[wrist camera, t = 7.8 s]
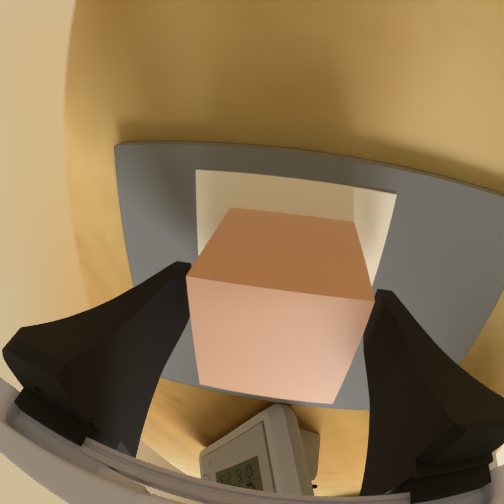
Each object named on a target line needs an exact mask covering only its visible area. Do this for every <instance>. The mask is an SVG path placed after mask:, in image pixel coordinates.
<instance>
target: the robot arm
mask: <svg viewBox="0 0 504 504" xmlns="http://www.w3.org/2000/svg"><path fill="white" fill-rule="evenodd" d="M191 267H192V266H191V263H187V262H181V261H176V262H174V263H172V264H171V265H169V266H167V267H166V268H164V269H163V270H161V271H159V272H158V273H156V274H155V275H153V276H152V277H150V278H148V279H147V280H145V281H144V282H142V283H141V284H139V285H137V286H135V287H134V288H132V289H130V290H128V291H127V292H125V293H123V294H121V295H120V296H118V297H116V298H114V299H112V300H110V301H108V302H106V303H104V304H101V305H99V306H97V307H95V308H92V309H90V310H87V311H84V312H81V313H79V314H76V315H74V316H70V317H67V318H64V319H60V320H57V321H53V322H48V323H44V324H39V325H33V326H27V327H22V328H20V329H19V330H18V332H17V333H16V334H15V335H14V336H13V337H12V338H11V340H10V341H9V342H8V343H7V344H6V346H5V347H4V348H3V349H2V352H3V357H4V360H5V362H6V363H7V365H8V367H9V368H10V369H11V371H12V372H13V374H14V375H15V376H16V378H17V379H18V381H19V382H20V383H21V385H22V386H23V387H24V388H23V390H22V391H21V392H19V391H17V390H16V389H15V388H14V387H13V386H11V385H10V384H9V383H7V382H5V381H4V380H3V379H2V378H0V452H1V453H2V454H3V455H5V456H6V457H7V458H8V459H9V460H10V461H12V462H13V463H14V464H15V465H16V466H17V467H19V468H20V469H21V470H22V471H24V472H25V473H26V474H28V475H29V476H30V477H31V478H33V479H34V480H35V481H37V482H38V483H40V484H41V485H42V486H44V487H45V488H47V489H48V490H49V491H51V492H52V493H54V494H55V495H57V496H58V497H60V498H62V499H63V500H65V501H66V502H68V503H69V504H185V503H181V502H178V501H175V500H171V499H167V498H165V497H161V496H158V495H155V494H151V493H149V492H148V491H147V490H146V488H145V486H143V485H141V484H139V483H142V484H144V485H147V486H150V487H153V488H155V489H158V490H161V491H164V492H167V493H170V494H173V495H177V496H180V497H184V498H187V499H190V500H194V501H198V502H202V503H206V504H504V465H502V466H499V467H498V464H497V459H496V454H495V450H496V449H497V448H499V447H500V446H501V445H502V444H503V443H504V397H502V396H500V395H498V394H497V393H495V392H493V391H492V390H490V389H489V388H487V387H486V386H484V385H483V384H481V383H480V382H479V381H477V380H476V379H475V378H473V377H472V376H471V375H469V374H468V373H467V372H466V371H465V370H463V369H462V368H461V367H460V366H459V365H458V364H456V363H455V362H454V361H453V360H452V359H451V358H450V357H449V356H448V355H447V354H446V353H445V352H444V351H443V350H442V349H441V348H440V347H439V346H438V345H437V344H436V343H435V342H434V341H433V339H432V338H431V337H430V336H429V335H428V334H427V333H426V332H425V330H424V329H423V328H422V327H421V326H420V324H419V323H418V322H417V321H416V319H415V318H414V317H413V316H412V314H411V313H410V312H409V311H408V309H407V308H406V307H405V306H404V304H403V303H402V302H401V301H400V299H399V298H398V297H397V296H396V295H395V294H394V292H393V291H392V290H384V289H377V291H376V294H375V297H374V299H375V303H374V306H373V309H372V311H371V314H370V317H369V320H368V322H367V325H366V328H365V330H364V333H363V351H364V359H365V366H366V374H367V382H368V390H369V401H370V421H369V438H368V450H367V458H366V465H365V472H364V478H363V483H362V488H361V493H360V496H355V497H328V496H306V495H293V494H282V493H274V492H266V491H259V490H252V489H246V488H241V487H235V486H230V485H225V484H220V483H216V482H212V481H207V480H203V479H199V478H196V477H192V476H188V475H185V474H180V473H178V472H174V471H171V470H168V469H165V468H162V467H158V466H156V465H153V464H150V463H147V462H144V461H142V460H139V459H136V454H137V450H138V445H139V441H140V437H141V433H142V430H143V426H144V423H145V419H146V416H147V412H148V409H149V406H150V403H151V401H152V398H153V395H154V392H155V389H156V386H157V384H158V381H159V378H160V376H161V373H162V371H163V369H164V367H165V365H166V363H167V361H168V359H169V357H170V356H171V354H172V352H173V350H174V348H175V346H176V344H177V342H178V341H179V339H180V337H181V335H182V333H183V331H184V329H185V327H186V325H187V323H188V320H189V318H190V310H189V301H188V292H187V282H186V275H187V274H188V272H189V271H190V269H191ZM133 480H134V481H133ZM135 481H136V482H135ZM137 482H139V483H137Z"/></svg>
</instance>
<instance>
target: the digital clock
mask: <svg viewBox="0 0 504 504" xmlns="http://www.w3.org/2000/svg"><path fill="white" fill-rule="evenodd" d="M319 447H320V435H319V434H316V433H313V432H310V431H307V430H304V429H301V428H299V425H298V421H297V418H296V415H295V413H294V412H293V410H292V409H291V408H290V407H289V406H288V405H285V404H281V403H276V404H273V405H272V406H270V407H268V408H267V409H265V410H263V411H262V412H260V413H258V414H257V415H255V416H254V417H252V418H251V419H249V420H248V421H246V422H245V423H243V424H242V425H241V426H239V427H238V428H236V429H235V430H233V431H232V432H230V433H229V434H227V435H225V436H224V437H222V438H221V439H219V440H218V441H216V442H214V443H213V444H211V445H210V446H208V447H206V448H205V449H204V450H202V451H201V452H200V457H199V460H200V472H201V479H203V480H207V481H212V482H216V483H220V484H225V485H230V486H235V487H241V488H246V489H252V490H259V491H266V492H274V493H282V494H293V495H306V496H314V492H313V488H312V483H311V481H312V480H314V479H315V477H316V475H317V470H318V460H319ZM204 504H206V503H204Z"/></svg>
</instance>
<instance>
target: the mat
mask: <svg viewBox="0 0 504 504" xmlns="http://www.w3.org/2000/svg"><path fill="white" fill-rule="evenodd" d="M114 153H115V165H116V176H117V186H118V195H119V203H120V210H121V218H122V225H123V231H124V237H125V244H126V249H127V255H128V261H129V266H130V271H131V276H132V281H133V286H134V287H135V286H137V285H139V284H141V283H142V282H144V281H145V280H147V279H148V278H150V277H152V276H153V275H155V274H156V273H158V272H159V271H161V270H163V269H164V268H166V267H167V266H169V265H171V264H172V263H174V262H176V261H181V262H187V263H191V266H193V264H194V263H195V261H196V260H197V258H198V256H199V255H200V253H201V252H202V250H203V249H204V247H205V246H206V244H207V243H208V241H209V239H210V238H211V236H212V235H213V233H214V232H215V230H216V229H217V227H218V226H219V224H220V223H221V221H222V220H223V218H224V217H225V215H226V214H227V212H228V211H229V209H230V208H231V207H233V208H242V209H252V210H261V211H270V212H279V213H288V214H296V215H304V216H312V217H320V218H327V219H335V220H342V221H349V222H354V223H355V227H356V230H357V233H358V237H359V240H360V244H361V248H362V251H363V255H364V259H365V262H366V266H367V270H368V274H369V278H370V282H371V286H372V290H373V295H374V297H375V294H376V291H377V289H384V290H392V291H393V292H394V294H395V295H396V296H397V297H398V298H399V299H400V301H401V302H402V303H403V304H404V306H405V307H406V308H407V309H408V311H409V312H410V313H411V314H412V316H413V317H414V318H415V319H416V321H417V322H418V323H419V324H420V326H421V327H422V328H423V329H424V330H425V332H426V333H427V334H428V335H429V336H430V337H431V338H432V339H433V341H434V342H435V343H436V344H437V345H438V346H439V347H440V348H441V349H442V350H443V351H444V352H445V353H446V354H447V355H448V356H449V357H450V358H451V359H452V360H453V361H454V362H455V363H456V364H458V365H459V364H460V362H461V361H462V360H463V358H464V357H465V355H466V354H467V352H468V351H469V349H470V348H471V346H472V344H473V343H474V341H475V340H476V338H477V337H478V335H479V333H480V332H481V330H482V328H483V327H484V325H485V323H486V321H487V320H488V318H489V316H490V314H491V313H492V311H493V309H494V307H495V305H496V303H497V301H498V299H499V298H500V296H501V294H502V292H503V290H504V194H502V193H499V192H495V191H492V190H489V189H486V188H483V187H480V186H476V185H473V184H470V183H466V182H463V181H459V180H455V179H452V178H448V177H444V176H440V175H436V174H432V173H428V172H424V171H420V170H416V169H411V168H407V167H402V166H397V165H393V164H388V163H383V162H377V161H372V160H367V159H361V158H355V157H349V156H343V155H337V154H330V153H323V152H316V151H308V150H300V149H291V148H282V147H272V146H261V145H248V144H233V143H215V142H184V141H142V142H122V143H119V144H117V145H114ZM160 378H164V379H167V380H171V381H175V382H178V383H182V384H186V385H190V386H194V387H199V388H203V389H207V390H212V391H216V392H221V393H226V394H231V395H236V396H242V397H247V398H253V399H259V400H265V401H272V402H279V403H286V404H294V405H303V406H313V407H323V408H336V409H352V410H370V401H369V390H368V382H367V374H366V366H365V359H364V351H363V335H362V338H361V341H360V343H359V346H358V348H357V351H356V353H355V355H354V358H353V360H352V363H351V365H350V367H349V369H348V372H347V374H346V376H345V379H344V381H343V383H342V385H341V387H340V390H339V392H338V394H337V396H336V398H335V400H334V402H333V404H325V403H314V402H304V401H295V400H287V399H279V398H272V397H265V396H258V395H252V394H246V393H241V392H235V391H230V390H225V389H220V388H215V387H210V386H206V385H201V384H200V383H199V376H198V370H197V363H196V356H195V349H194V342H193V334H192V326H191V318H189V320H188V323H187V325H186V327H185V329H184V331H183V333H182V335H181V337H180V339H179V341H178V342H177V344H176V346H175V348H174V350H173V352H172V354H171V356H170V357H169V359H168V361H167V363H166V365H165V367H164V369H163V371H162V373H161V376H160Z"/></svg>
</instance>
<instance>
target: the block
mask: <svg viewBox="0 0 504 504" xmlns="http://www.w3.org/2000/svg"><path fill="white" fill-rule="evenodd" d="M186 282H187V292H188V301H189V310H190V318H191V326H192V334H193V342H194V349H195V356H196V363H197V370H198V376H199V383H200V384H201V385H206V386H210V387H215V388H220V389H225V390H230V391H235V392H241V393H246V394H252V395H258V396H265V397H272V398H279V399H287V400H295V401H304V402H314V403H325V404H333V402H334V400H335V398H336V396H337V394H338V392H339V390H340V387H341V385H342V383H343V381H344V379H345V376H346V374H347V372H348V369H349V367H350V365H351V363H352V360H353V358H354V355H355V353H356V351H357V348H358V346H359V343H360V341H361V338H362V335H363V333H364V330H365V328H366V325H367V322H368V320H369V317H370V314H371V311H372V309H373V306H374V303H375V299H374V295H373V290H372V286H371V282H370V278H369V274H368V270H367V266H366V262H365V259H364V255H363V251H362V248H361V244H360V240H359V237H358V233H357V230H356V227H355V223H354V222H349V221H342V220H335V219H327V218H320V217H312V216H304V215H296V214H288V213H279V212H270V211H261V210H252V209H242V208H233V207H231V208H230V209H229V211H228V212H227V214H226V215H225V217H224V218H223V220H222V221H221V223H220V224H219V226H218V227H217V229H216V230H215V232H214V233H213V235H212V236H211V238H210V239H209V241H208V243H207V244H206V246H205V247H204V249H203V250H202V252H201V253H200V255H199V256H198V258H197V260H196V261H195V263H194V264H193V266H192V267H191V269H190V271H189V272H188V274H187V275H186Z"/></svg>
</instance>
